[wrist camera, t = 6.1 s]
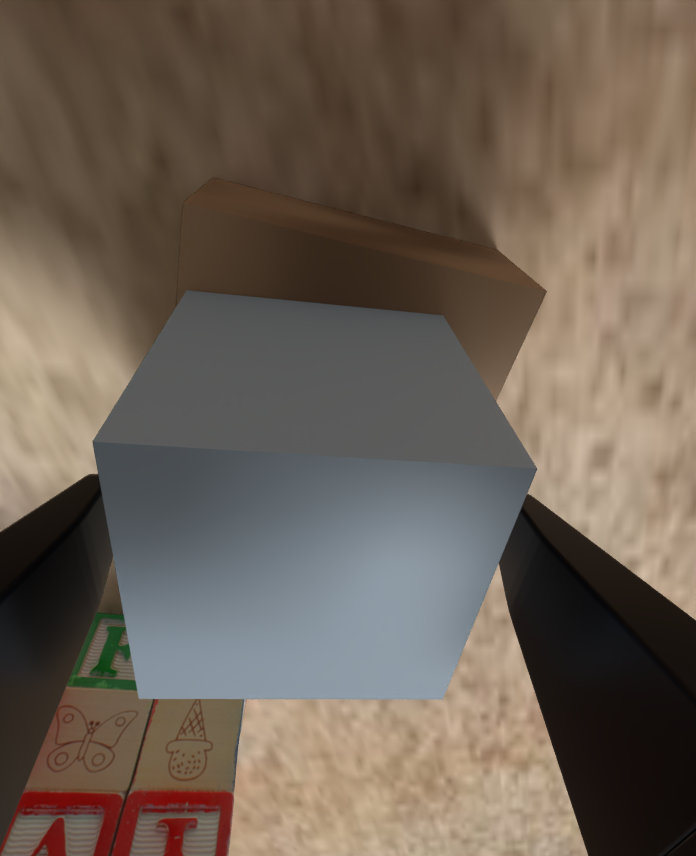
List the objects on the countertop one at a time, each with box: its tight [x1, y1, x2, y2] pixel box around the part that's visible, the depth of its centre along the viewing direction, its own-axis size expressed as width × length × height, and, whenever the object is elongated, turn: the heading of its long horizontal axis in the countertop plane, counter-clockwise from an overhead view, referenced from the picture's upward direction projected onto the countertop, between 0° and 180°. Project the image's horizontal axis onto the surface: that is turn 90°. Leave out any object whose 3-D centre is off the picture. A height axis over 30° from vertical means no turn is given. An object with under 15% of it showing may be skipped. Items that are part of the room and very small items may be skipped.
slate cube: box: [93, 290, 537, 700], centre depth 9 cm, size 5×5×5 cm
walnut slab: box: [176, 178, 547, 401], centre depth 13 cm, size 7×7×4 cm
